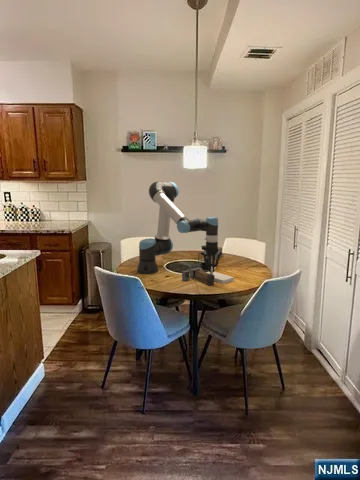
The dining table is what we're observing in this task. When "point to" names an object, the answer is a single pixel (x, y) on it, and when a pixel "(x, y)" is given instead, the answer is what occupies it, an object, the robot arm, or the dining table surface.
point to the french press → (204, 260)
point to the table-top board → (222, 278)
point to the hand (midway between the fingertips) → (211, 276)
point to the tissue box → (217, 253)
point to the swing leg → (204, 277)
